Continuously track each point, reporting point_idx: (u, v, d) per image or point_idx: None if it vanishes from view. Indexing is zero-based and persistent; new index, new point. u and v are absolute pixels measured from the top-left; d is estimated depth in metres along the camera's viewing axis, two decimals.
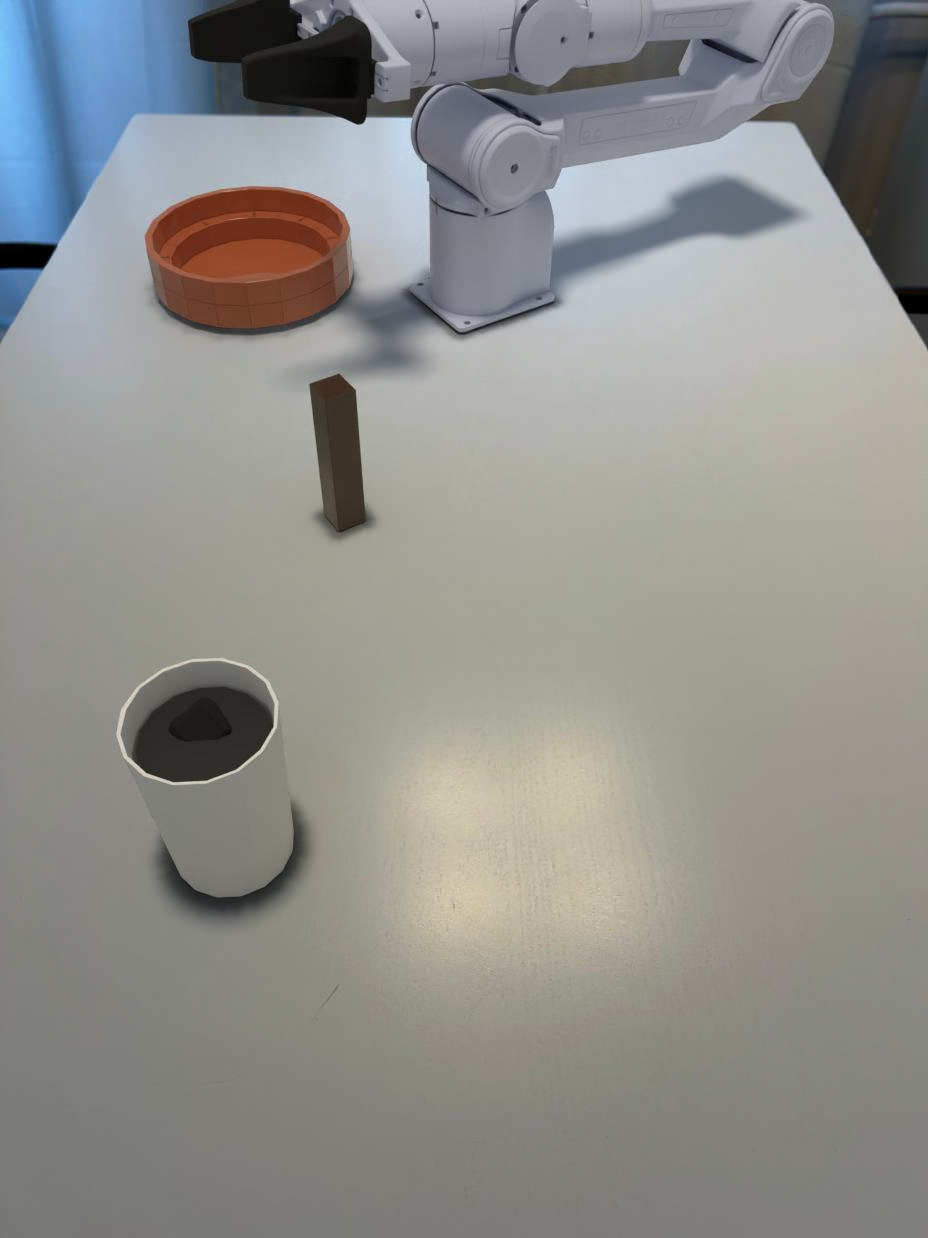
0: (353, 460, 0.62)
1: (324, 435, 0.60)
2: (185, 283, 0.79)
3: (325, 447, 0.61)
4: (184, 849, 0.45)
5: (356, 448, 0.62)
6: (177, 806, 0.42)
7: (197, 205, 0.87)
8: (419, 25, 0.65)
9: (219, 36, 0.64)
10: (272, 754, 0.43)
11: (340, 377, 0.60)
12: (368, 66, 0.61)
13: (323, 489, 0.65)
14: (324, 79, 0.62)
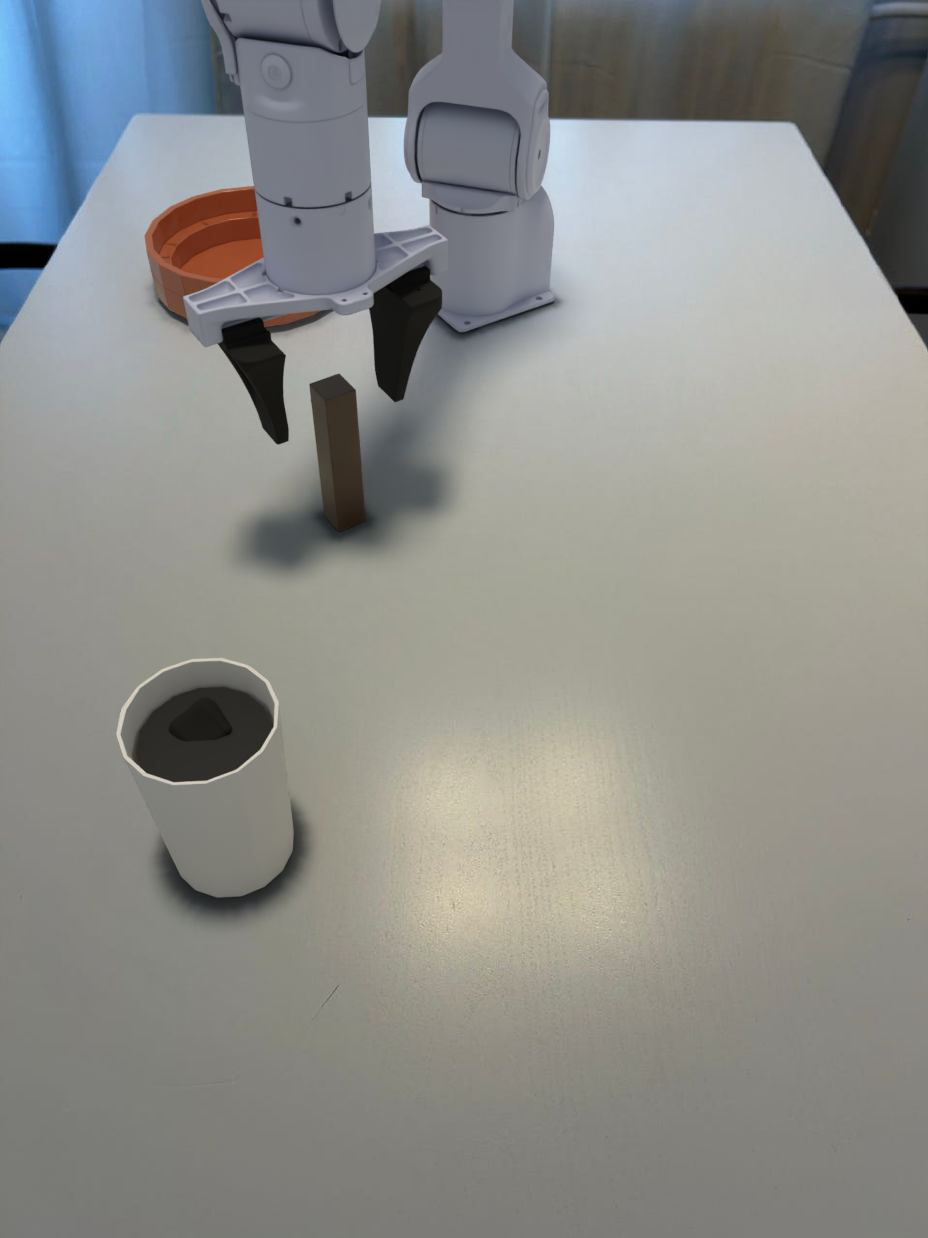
0: (353, 460, 0.62)
1: (324, 435, 0.60)
2: (185, 283, 0.79)
3: (325, 447, 0.61)
4: (184, 849, 0.45)
5: (356, 448, 0.62)
6: (177, 806, 0.42)
7: (197, 205, 0.87)
8: None
9: None
10: (272, 754, 0.43)
11: (340, 377, 0.60)
12: None
13: (323, 489, 0.65)
14: None
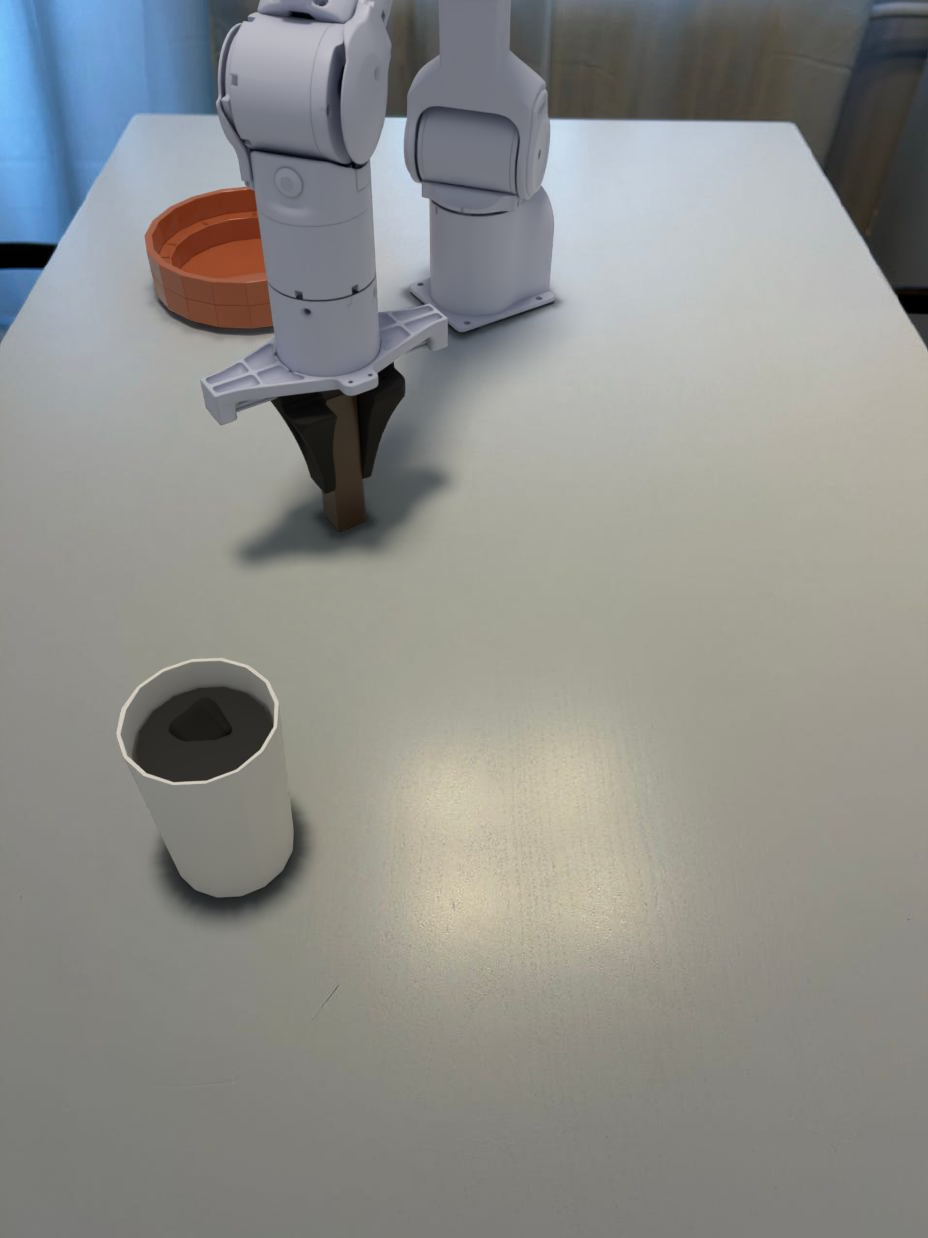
0: (353, 460, 0.62)
1: None
2: (185, 283, 0.79)
3: None
4: (184, 849, 0.45)
5: (356, 448, 0.62)
6: (177, 806, 0.42)
7: (197, 205, 0.87)
8: (376, 289, 0.55)
9: None
10: (272, 754, 0.43)
11: None
12: None
13: None
14: None
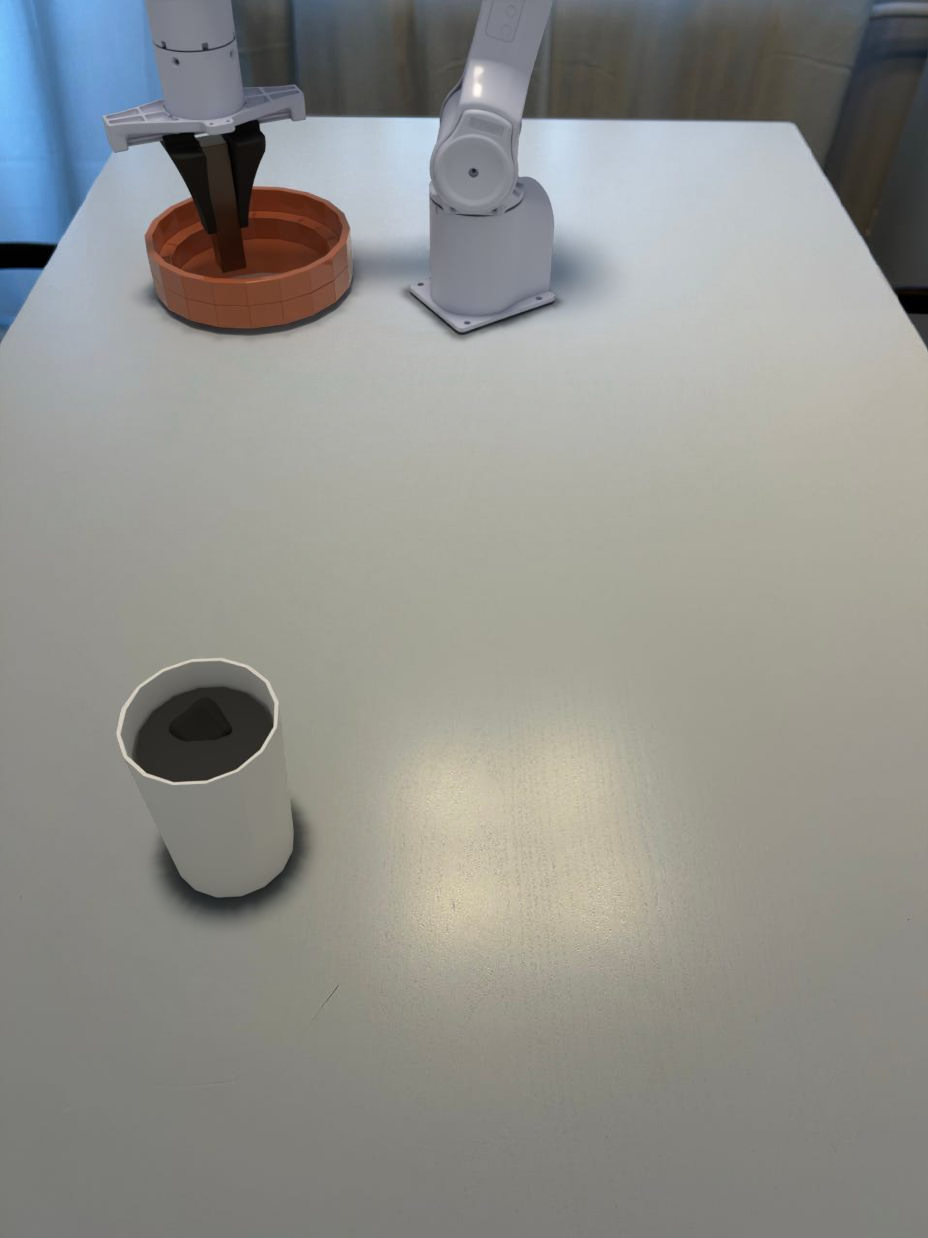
0: (230, 207, 0.80)
1: None
2: (185, 283, 0.79)
3: None
4: (184, 849, 0.45)
5: (232, 197, 0.79)
6: (177, 806, 0.42)
7: None
8: (236, 54, 0.72)
9: None
10: (272, 754, 0.43)
11: (219, 135, 0.77)
12: None
13: (212, 236, 0.82)
14: None
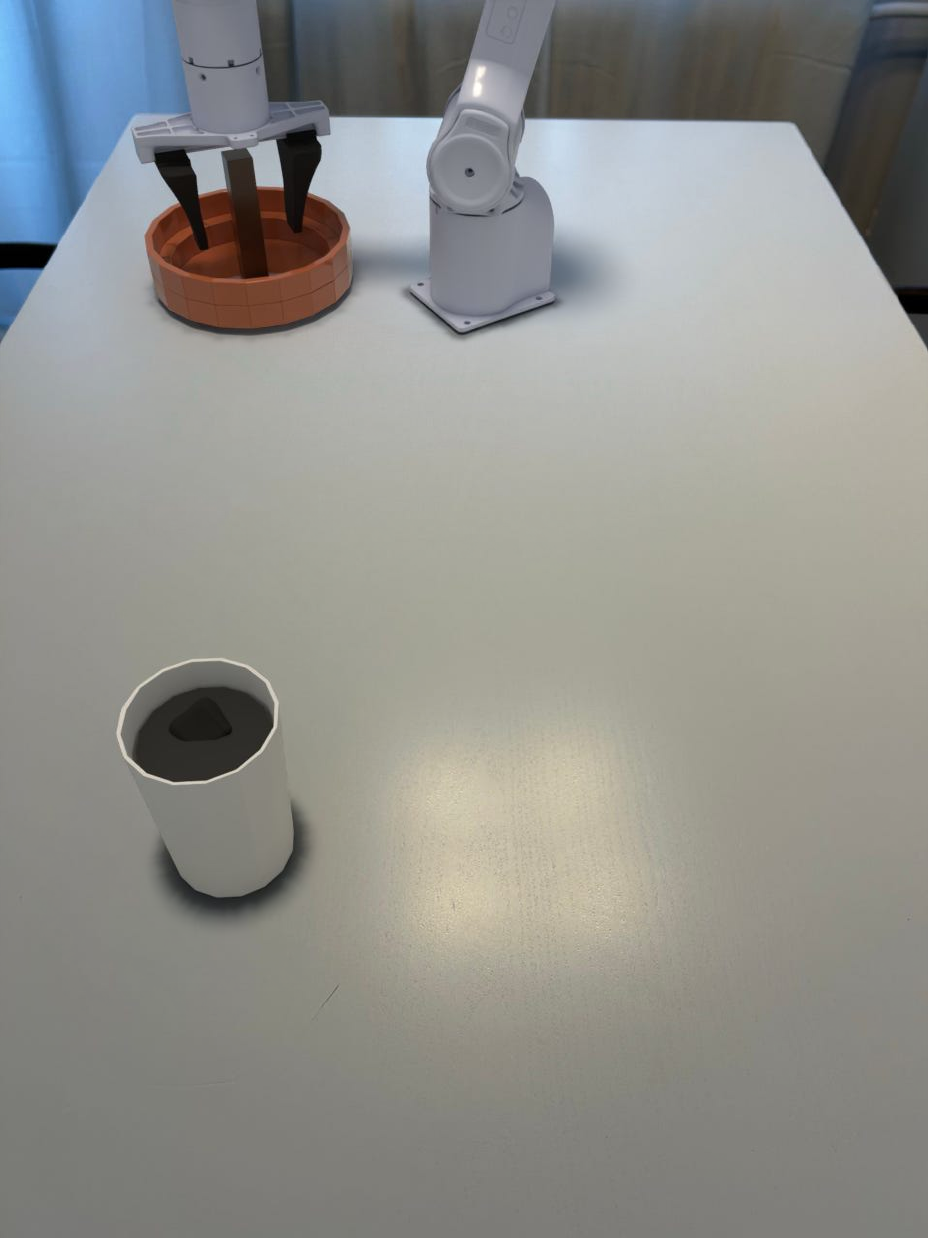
0: (254, 219, 0.82)
1: (230, 194, 0.80)
2: (185, 283, 0.79)
3: (232, 205, 0.81)
4: (184, 849, 0.45)
5: (256, 209, 0.81)
6: (177, 806, 0.42)
7: None
8: (262, 70, 0.74)
9: None
10: (272, 754, 0.43)
11: (245, 149, 0.79)
12: None
13: (236, 247, 0.84)
14: None
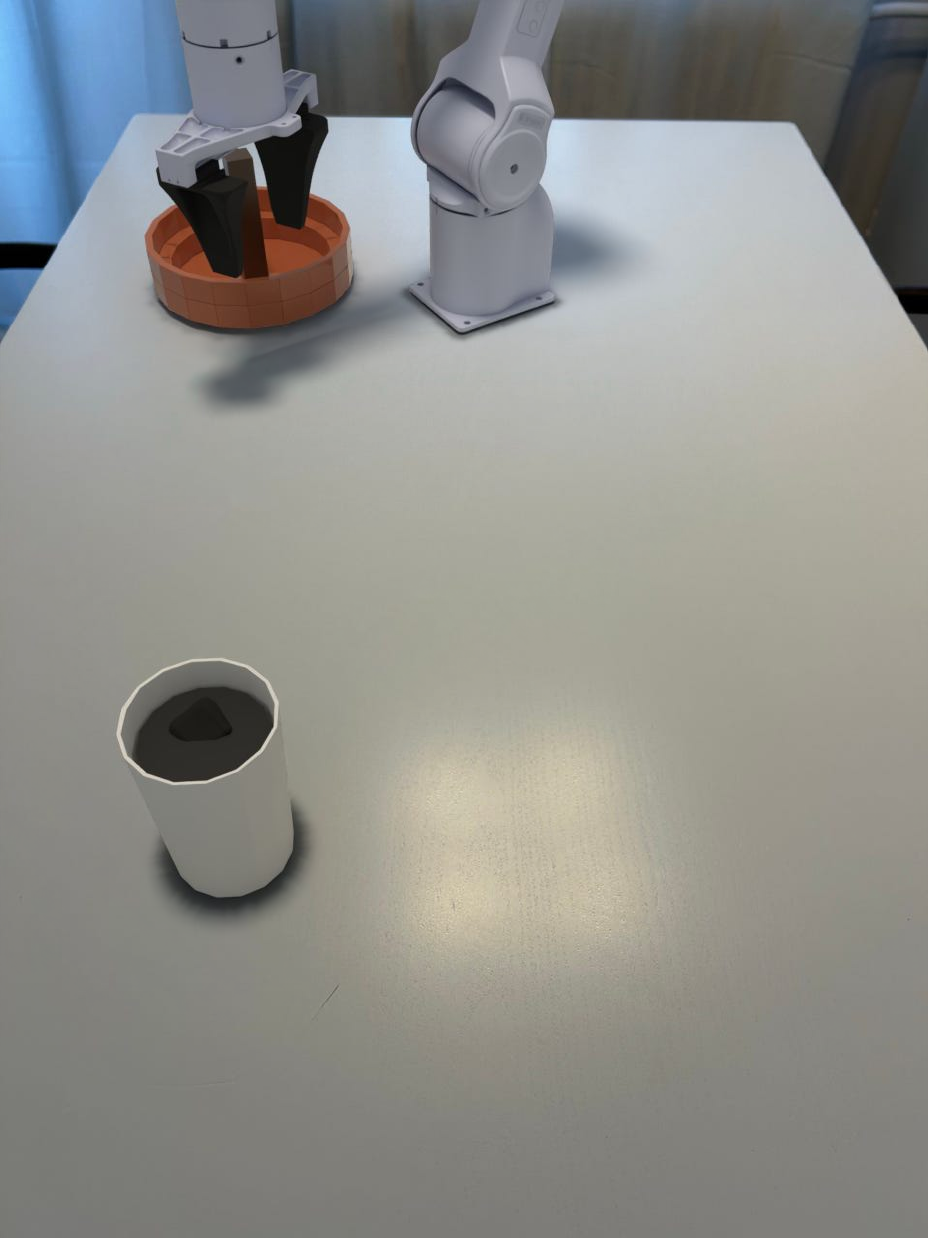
0: (254, 219, 0.82)
1: None
2: (185, 283, 0.79)
3: None
4: (184, 849, 0.45)
5: (256, 209, 0.81)
6: (177, 806, 0.42)
7: None
8: None
9: None
10: (272, 754, 0.43)
11: (245, 149, 0.79)
12: None
13: None
14: None
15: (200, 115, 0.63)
